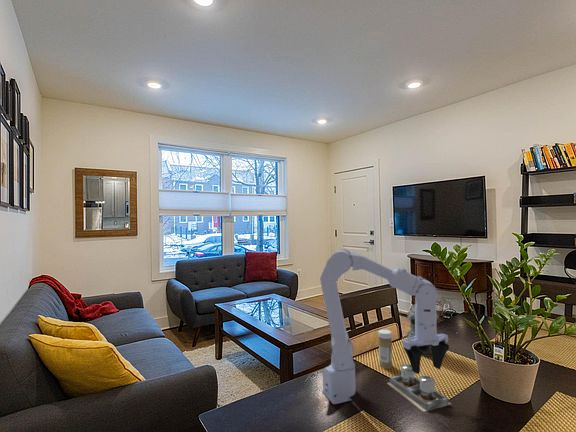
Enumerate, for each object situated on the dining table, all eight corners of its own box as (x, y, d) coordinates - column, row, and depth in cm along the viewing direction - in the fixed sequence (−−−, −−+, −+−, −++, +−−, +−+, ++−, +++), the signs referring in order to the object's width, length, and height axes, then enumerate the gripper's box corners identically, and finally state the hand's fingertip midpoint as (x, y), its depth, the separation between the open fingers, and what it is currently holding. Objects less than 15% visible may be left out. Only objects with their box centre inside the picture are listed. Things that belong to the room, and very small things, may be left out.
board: (423, 416, 86) (423, 405, 86) (386, 386, 101) (386, 377, 101) (452, 408, 89) (451, 398, 89) (412, 381, 104) (412, 372, 104)
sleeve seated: (407, 391, 96) (406, 371, 96) (397, 384, 100) (396, 365, 100) (419, 388, 97) (418, 368, 97) (409, 381, 102) (408, 362, 102)
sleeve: (427, 406, 88) (426, 384, 88) (415, 397, 93) (414, 376, 93) (440, 402, 90) (439, 381, 90) (428, 394, 94) (427, 374, 94)
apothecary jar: (442, 359, 119) (441, 312, 119) (408, 356, 123) (407, 309, 123) (437, 347, 131) (436, 303, 131) (406, 344, 134) (405, 301, 135)
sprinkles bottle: (395, 369, 112) (394, 331, 112) (386, 373, 110) (386, 334, 110) (384, 365, 116) (384, 328, 116) (376, 368, 113) (375, 330, 113)
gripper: (415, 330, 85) (415, 381, 85) (456, 323, 90) (457, 371, 90) (397, 322, 92) (398, 369, 92) (437, 316, 97) (438, 361, 97)
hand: (426, 369), depth 91 cm, fingers open, 7 cm apart
